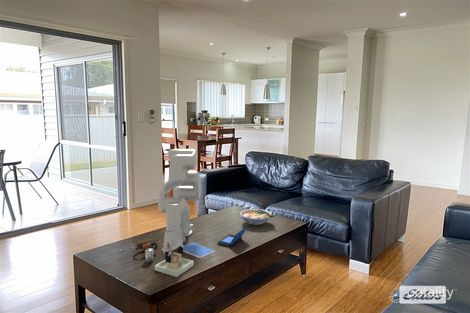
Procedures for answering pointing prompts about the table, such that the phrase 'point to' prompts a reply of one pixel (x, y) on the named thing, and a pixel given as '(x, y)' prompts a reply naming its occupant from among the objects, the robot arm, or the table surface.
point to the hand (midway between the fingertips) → (174, 258)
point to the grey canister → (149, 255)
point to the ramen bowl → (256, 216)
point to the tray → (174, 272)
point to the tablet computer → (197, 250)
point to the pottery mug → (146, 246)
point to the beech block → (175, 260)
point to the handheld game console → (231, 239)
